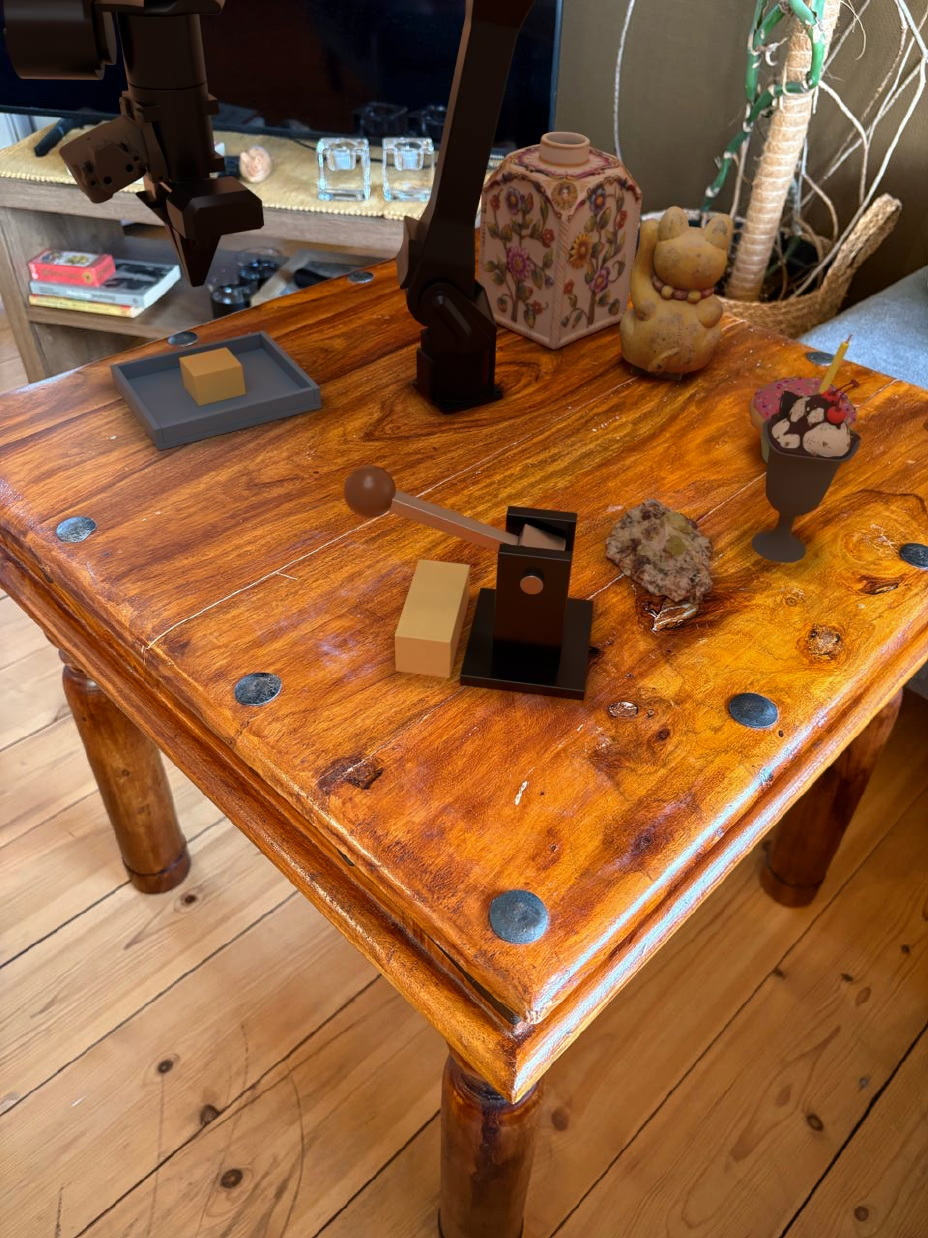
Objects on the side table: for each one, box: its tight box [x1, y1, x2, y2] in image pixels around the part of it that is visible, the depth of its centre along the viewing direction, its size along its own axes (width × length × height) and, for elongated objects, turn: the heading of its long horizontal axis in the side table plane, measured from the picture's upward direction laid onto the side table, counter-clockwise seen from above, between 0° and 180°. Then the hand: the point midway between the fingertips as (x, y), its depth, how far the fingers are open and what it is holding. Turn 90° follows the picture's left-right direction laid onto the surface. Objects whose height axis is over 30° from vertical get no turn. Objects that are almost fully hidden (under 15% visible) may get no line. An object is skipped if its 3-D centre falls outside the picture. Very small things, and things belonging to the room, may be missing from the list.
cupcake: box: [748, 333, 859, 464], centre depth 81 cm, size 9×8×12 cm
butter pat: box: [179, 347, 246, 406], centre depth 90 cm, size 4×4×3 cm
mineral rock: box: [605, 498, 714, 605], centre depth 73 cm, size 11×4×8 cm
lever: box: [343, 464, 566, 554], centre depth 61 cm, size 14×3×3 cm, turn 81°
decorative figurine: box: [619, 205, 734, 382], centre depth 92 cm, size 10×8×15 cm
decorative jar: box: [477, 131, 643, 351], centre depth 100 cm, size 12×12×18 cm
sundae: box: [751, 378, 862, 564], centre depth 71 cm, size 7×7×15 cm
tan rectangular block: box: [394, 558, 471, 679], centre depth 66 cm, size 8×4×4 cm, turn 171°
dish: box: [109, 330, 323, 452], centre depth 91 cm, size 15×13×2 cm
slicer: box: [459, 505, 595, 702], centre depth 64 cm, size 8×9×10 cm
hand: (196, 284), depth 84 cm, fingers closed
